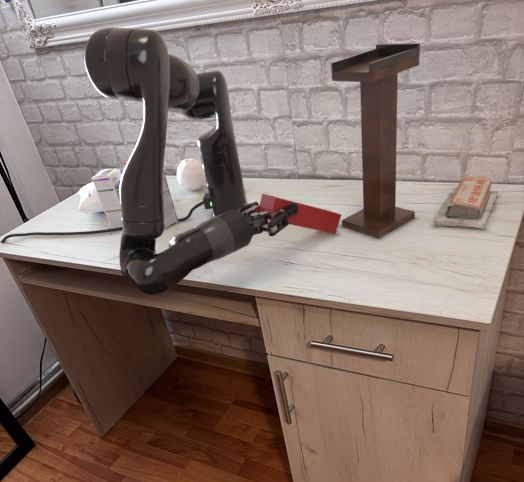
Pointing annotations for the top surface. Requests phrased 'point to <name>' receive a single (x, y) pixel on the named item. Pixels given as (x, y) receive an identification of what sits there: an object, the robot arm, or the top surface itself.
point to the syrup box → (109, 194)
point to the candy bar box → (166, 203)
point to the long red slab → (303, 214)
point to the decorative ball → (190, 174)
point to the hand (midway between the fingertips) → (288, 204)
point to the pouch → (89, 200)
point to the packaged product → (468, 204)
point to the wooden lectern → (378, 132)
